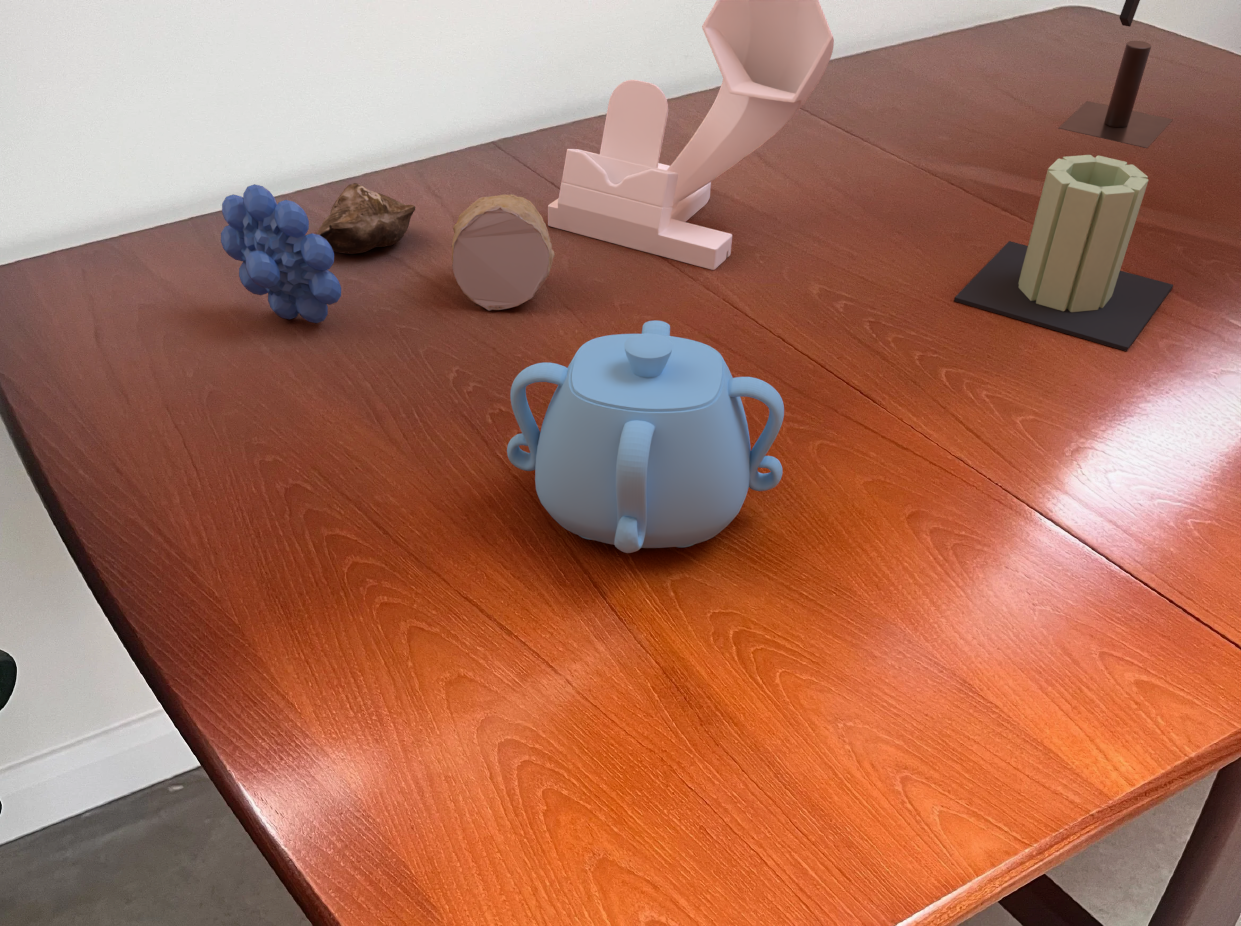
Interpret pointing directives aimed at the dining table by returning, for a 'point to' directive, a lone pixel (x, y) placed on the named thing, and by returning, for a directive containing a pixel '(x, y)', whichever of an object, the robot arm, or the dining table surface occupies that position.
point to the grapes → (280, 254)
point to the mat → (1104, 326)
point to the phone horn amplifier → (733, 128)
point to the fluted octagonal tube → (1081, 232)
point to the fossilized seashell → (364, 221)
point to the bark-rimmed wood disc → (501, 251)
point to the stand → (1121, 106)
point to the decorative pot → (645, 440)
